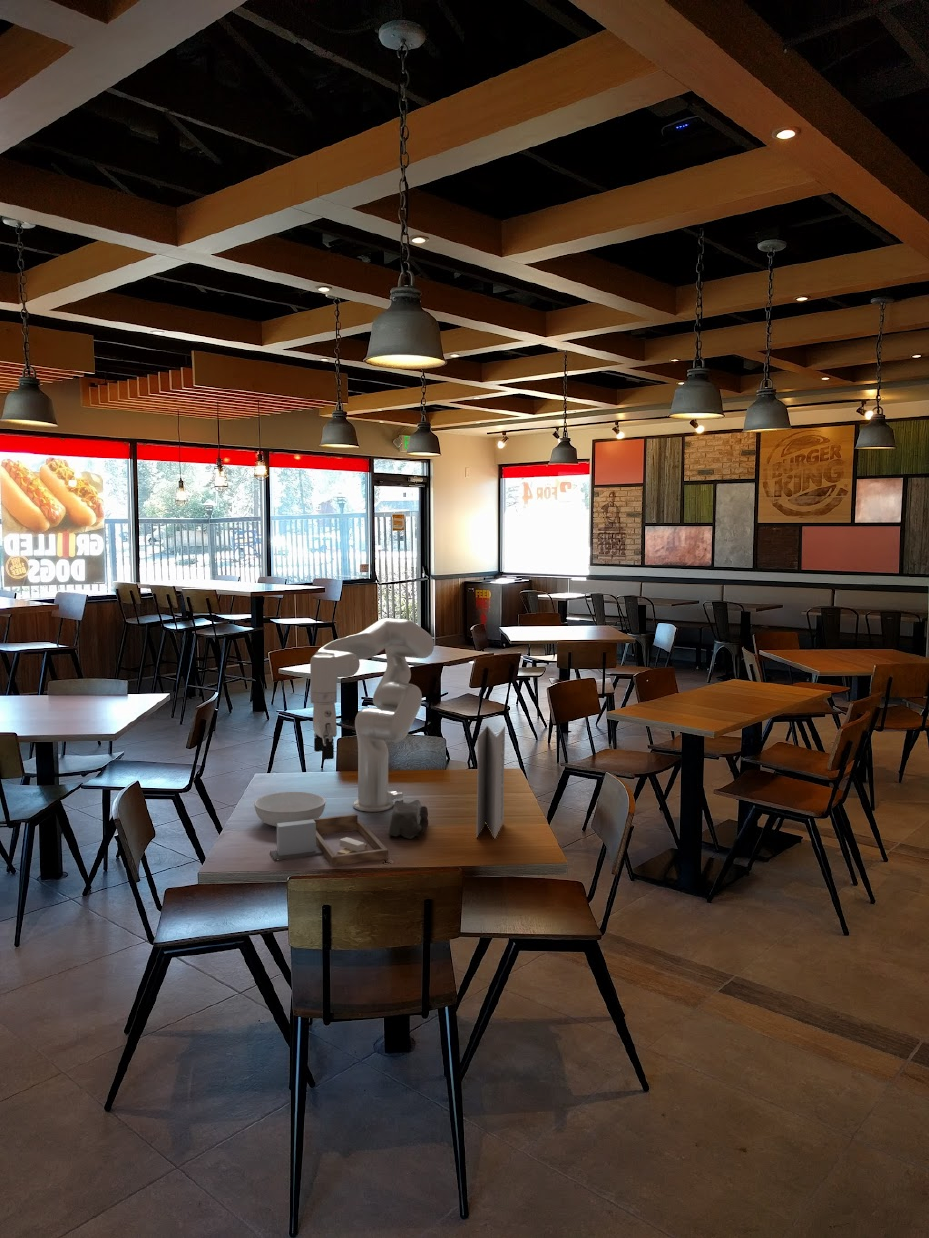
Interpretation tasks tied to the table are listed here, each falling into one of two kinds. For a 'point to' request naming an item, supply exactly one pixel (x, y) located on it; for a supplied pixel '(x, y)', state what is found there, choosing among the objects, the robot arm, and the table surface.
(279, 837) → the light grey block
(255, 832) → the table surface
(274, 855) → the mat
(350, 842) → the offcut upper
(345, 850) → the offcut lower
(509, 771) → the table surface
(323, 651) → the robot arm
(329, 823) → the wooden tray
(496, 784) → the brochure
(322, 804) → the serving bowl
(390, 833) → the rock
